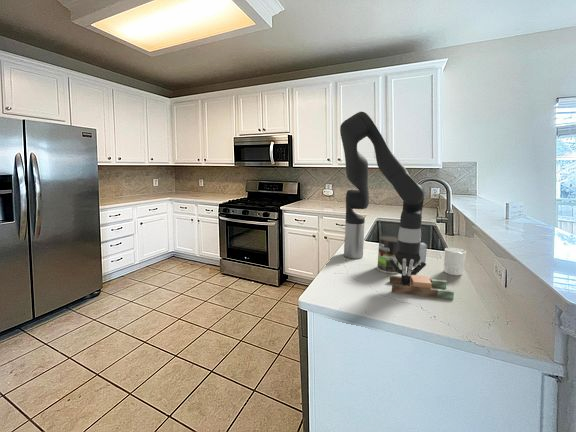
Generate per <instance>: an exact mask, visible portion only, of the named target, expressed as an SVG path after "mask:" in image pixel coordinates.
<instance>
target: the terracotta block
mask: <svg viewBox="0 0 576 432" xmlns="http://www.w3.org/2000/svg"><path fill="white" fill-rule="evenodd" d="M429 279H430V277H429V276H428V275H421V274H420V275H418V274H416V275H411V276H410V285H409V286H411V287H421V288H431V289H432V287H431V286H432V283H431V281H430V280H429Z"/></svg>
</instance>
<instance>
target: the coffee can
mask: <svg viewBox="0 0 576 432" xmlns="http://www.w3.org/2000/svg"><path fill="white" fill-rule="evenodd" d="M397 246H398V236H395V235H381V236H378V251H377V252H378V255H377V265H376V266H377V267H376V269H377V270H378V272H379V271H380V272H381V273H386V274H393V275H394V274H398V273H397V271H396V270H395V268H394V267H393V266H392V264H391V263H390V261H389V259H390V258H393V257H395V254H396V253H397ZM396 264H397V266H398V267H399V268H400V269H401V270H402V265H400V263H399V262H398V260H397V259H396Z"/></svg>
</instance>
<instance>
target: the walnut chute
mask: <svg viewBox="0 0 576 432" xmlns="http://www.w3.org/2000/svg"><path fill="white" fill-rule="evenodd" d="M401 276H402V275H389V284H390V283H391V293H395V294H403V295H411V296H413V295H414V296H422V297H423V296H424V297H430V298H431V297H433V298H441V299H451V300H454V295H455V292H454V290H448V289H447V284H448V281H447V280H443V279H434V278H433V279H432V278H431V279H430V278H429V280H430V281H431V283H432V286H431V288H421V287H411V286H410V283H409V284H408V285H403V283H402V282H401ZM401 284H402V285H401ZM440 288H441V289H440Z"/></svg>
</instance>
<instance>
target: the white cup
mask: <svg viewBox="0 0 576 432" xmlns="http://www.w3.org/2000/svg"><path fill="white" fill-rule="evenodd" d="M466 255H467V250H465V249H463V248H458V247H445V248H444V256H443V257H444V260H443V265H444V266H443V271H444V273H446V274H448V275H450V276H462V275H463V270H464V267H465V262H466Z"/></svg>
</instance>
